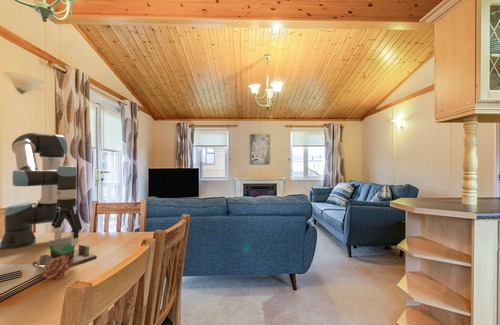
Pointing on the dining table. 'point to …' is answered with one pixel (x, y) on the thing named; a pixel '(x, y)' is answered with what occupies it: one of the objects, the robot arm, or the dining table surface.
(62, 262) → the flower
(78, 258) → the base
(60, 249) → the food container
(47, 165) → the robot arm
